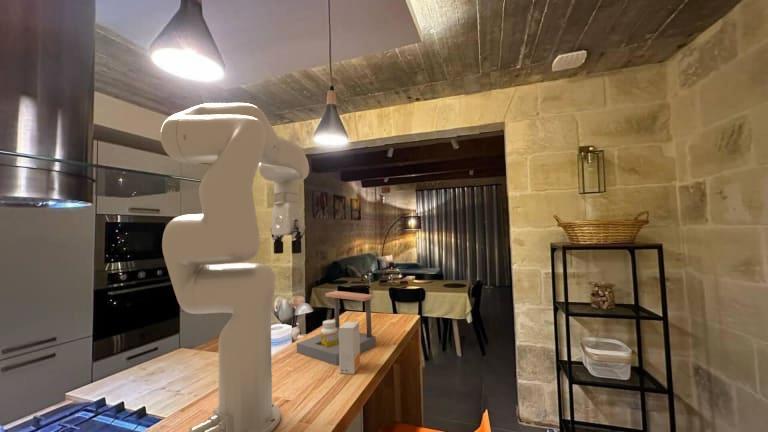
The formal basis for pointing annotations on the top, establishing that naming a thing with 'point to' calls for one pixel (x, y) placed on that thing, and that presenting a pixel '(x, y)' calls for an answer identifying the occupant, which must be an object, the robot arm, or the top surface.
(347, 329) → the skincare box
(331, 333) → the supplement bottle
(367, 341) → the socket block
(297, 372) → the top surface
